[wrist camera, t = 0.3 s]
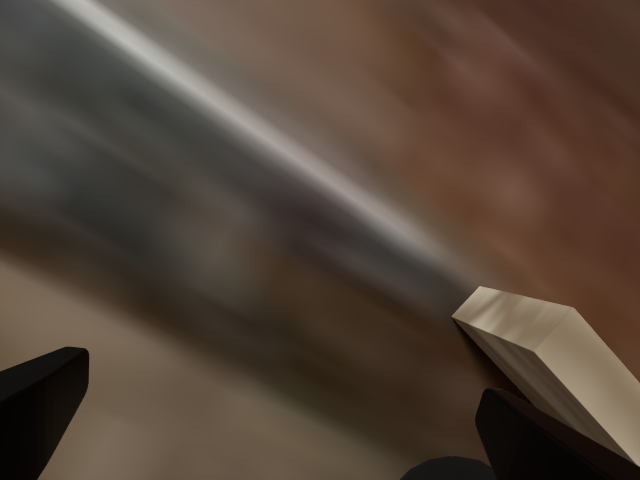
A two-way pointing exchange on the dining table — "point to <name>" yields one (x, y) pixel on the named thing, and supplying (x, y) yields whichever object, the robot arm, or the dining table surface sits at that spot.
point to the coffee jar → (450, 470)
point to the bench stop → (558, 365)
